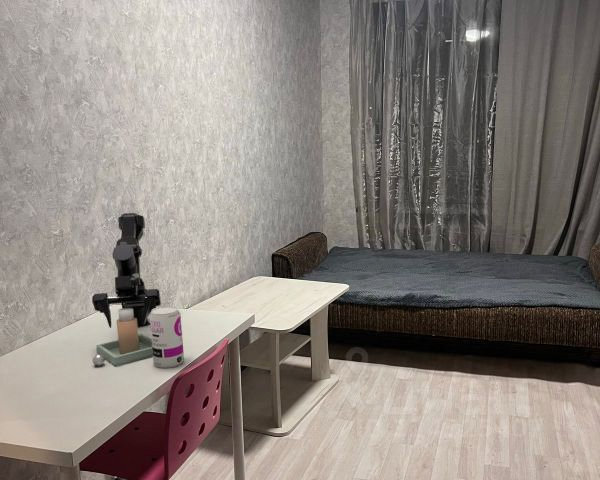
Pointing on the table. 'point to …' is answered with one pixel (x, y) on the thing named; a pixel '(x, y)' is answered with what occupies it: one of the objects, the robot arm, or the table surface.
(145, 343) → the tray
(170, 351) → the supplement can
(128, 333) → the shaker
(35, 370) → the table surface
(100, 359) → the ball
